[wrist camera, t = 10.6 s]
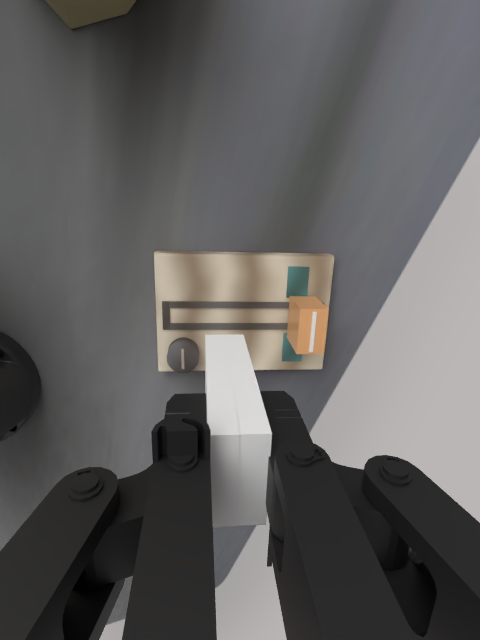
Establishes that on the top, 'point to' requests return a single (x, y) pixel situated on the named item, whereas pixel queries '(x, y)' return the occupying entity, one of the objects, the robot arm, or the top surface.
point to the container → (88, 10)
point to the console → (234, 304)
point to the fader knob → (307, 324)
